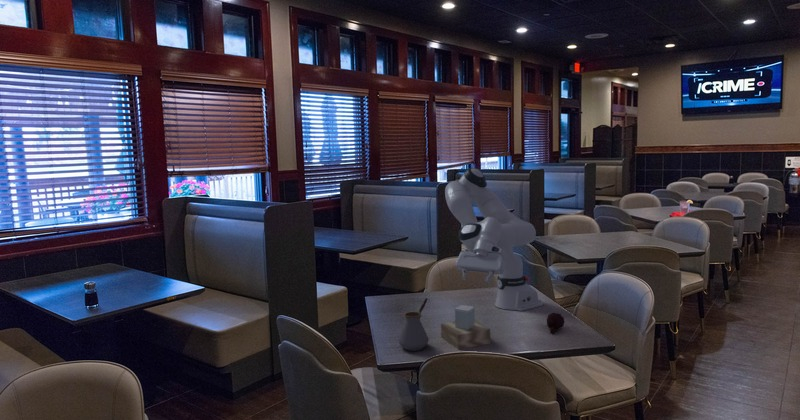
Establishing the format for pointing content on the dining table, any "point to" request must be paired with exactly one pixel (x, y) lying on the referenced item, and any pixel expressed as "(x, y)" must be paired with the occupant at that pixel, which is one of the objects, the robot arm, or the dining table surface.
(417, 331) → the coffee pot
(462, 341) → the oak box
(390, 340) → the dining table surface
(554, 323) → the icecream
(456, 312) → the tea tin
